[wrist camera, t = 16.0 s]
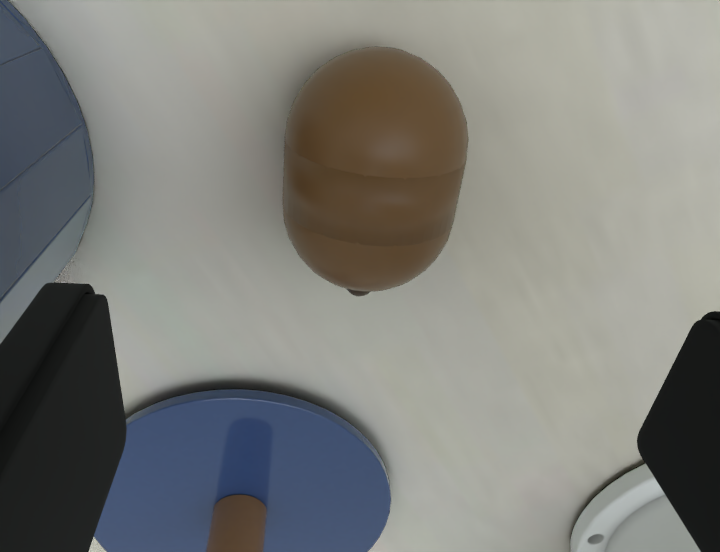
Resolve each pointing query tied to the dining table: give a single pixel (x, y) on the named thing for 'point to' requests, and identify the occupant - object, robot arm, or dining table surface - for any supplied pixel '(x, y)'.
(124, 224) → the dining table surface
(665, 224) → the dining table surface
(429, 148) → the kiwi
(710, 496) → the robot arm
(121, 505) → the lid
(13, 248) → the crock
